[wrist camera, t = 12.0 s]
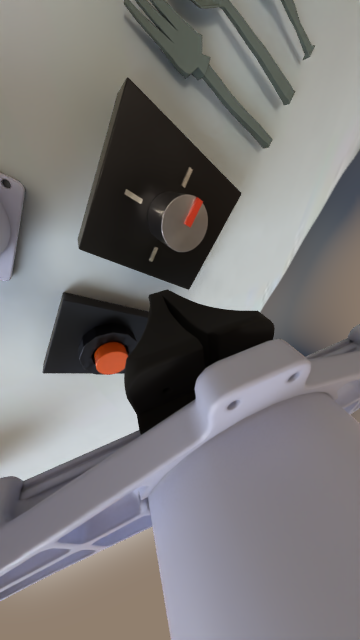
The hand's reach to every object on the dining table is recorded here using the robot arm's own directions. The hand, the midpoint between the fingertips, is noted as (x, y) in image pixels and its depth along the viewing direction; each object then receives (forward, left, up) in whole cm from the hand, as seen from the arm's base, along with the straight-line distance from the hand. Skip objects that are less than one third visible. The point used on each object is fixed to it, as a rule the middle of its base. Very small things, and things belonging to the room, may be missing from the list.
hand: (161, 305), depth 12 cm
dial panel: (+1, +5, -11) cm, 12 cm away
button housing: (+1, -11, -11) cm, 15 cm away
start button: (+1, -11, -7) cm, 13 cm away
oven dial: (+1, +5, -7) cm, 9 cm away
